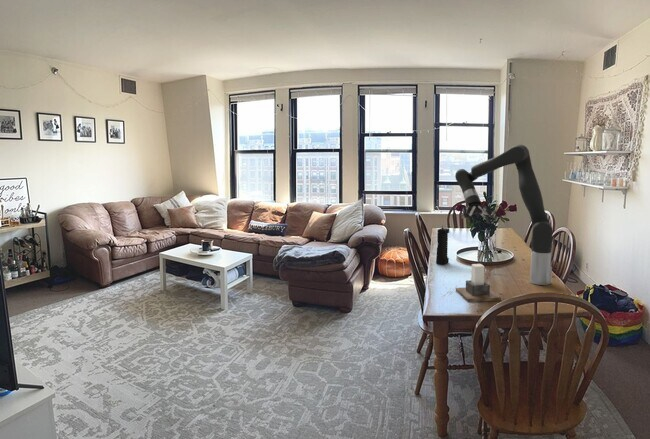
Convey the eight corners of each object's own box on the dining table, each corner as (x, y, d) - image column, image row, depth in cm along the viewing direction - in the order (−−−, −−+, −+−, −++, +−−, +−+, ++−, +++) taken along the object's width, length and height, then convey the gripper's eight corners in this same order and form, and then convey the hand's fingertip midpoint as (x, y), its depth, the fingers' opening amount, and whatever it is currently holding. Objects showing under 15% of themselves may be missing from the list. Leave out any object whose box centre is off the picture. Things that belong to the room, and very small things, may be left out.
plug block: (479, 290, 204) (480, 263, 201) (483, 293, 199) (484, 266, 197) (470, 291, 203) (471, 264, 201) (474, 294, 199) (475, 266, 197)
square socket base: (486, 289, 210) (486, 277, 208) (500, 300, 194) (501, 287, 193) (455, 290, 209) (455, 278, 208) (467, 301, 193) (467, 288, 192)
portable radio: (440, 261, 266) (441, 223, 262) (449, 262, 262) (450, 224, 258) (435, 263, 260) (435, 225, 256) (444, 265, 256) (445, 226, 252)
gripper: (461, 195, 221) (469, 219, 211) (486, 193, 222) (496, 217, 212) (457, 203, 227) (465, 227, 217) (482, 202, 228) (491, 225, 218)
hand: (480, 222), depth 215 cm, fingers open, 8 cm apart
